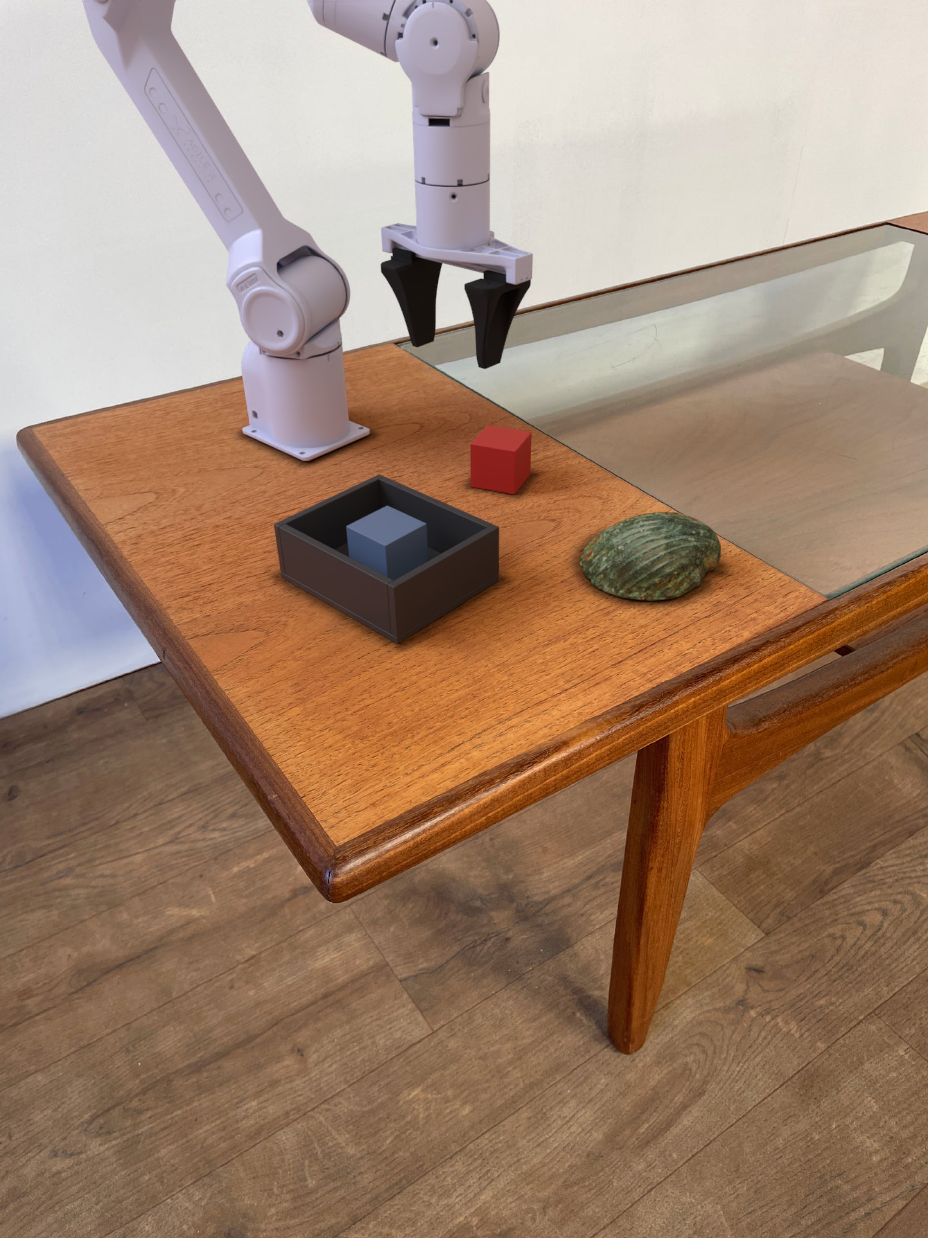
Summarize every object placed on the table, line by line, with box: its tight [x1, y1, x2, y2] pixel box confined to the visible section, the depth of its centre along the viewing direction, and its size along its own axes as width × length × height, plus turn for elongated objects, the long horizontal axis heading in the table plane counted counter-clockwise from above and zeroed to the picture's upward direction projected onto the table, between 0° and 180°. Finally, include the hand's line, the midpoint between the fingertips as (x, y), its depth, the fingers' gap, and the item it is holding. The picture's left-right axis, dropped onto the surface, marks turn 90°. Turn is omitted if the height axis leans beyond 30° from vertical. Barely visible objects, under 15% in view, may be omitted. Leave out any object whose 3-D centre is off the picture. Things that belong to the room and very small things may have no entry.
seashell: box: [579, 511, 722, 602], centre depth 70 cm, size 10×4×10 cm
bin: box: [273, 473, 500, 645], centre depth 68 cm, size 12×10×4 cm
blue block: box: [346, 506, 428, 581], centre depth 68 cm, size 4×4×4 cm
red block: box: [469, 424, 533, 495], centre depth 81 cm, size 4×4×4 cm
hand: (455, 354), depth 81 cm, fingers open, 7 cm apart
